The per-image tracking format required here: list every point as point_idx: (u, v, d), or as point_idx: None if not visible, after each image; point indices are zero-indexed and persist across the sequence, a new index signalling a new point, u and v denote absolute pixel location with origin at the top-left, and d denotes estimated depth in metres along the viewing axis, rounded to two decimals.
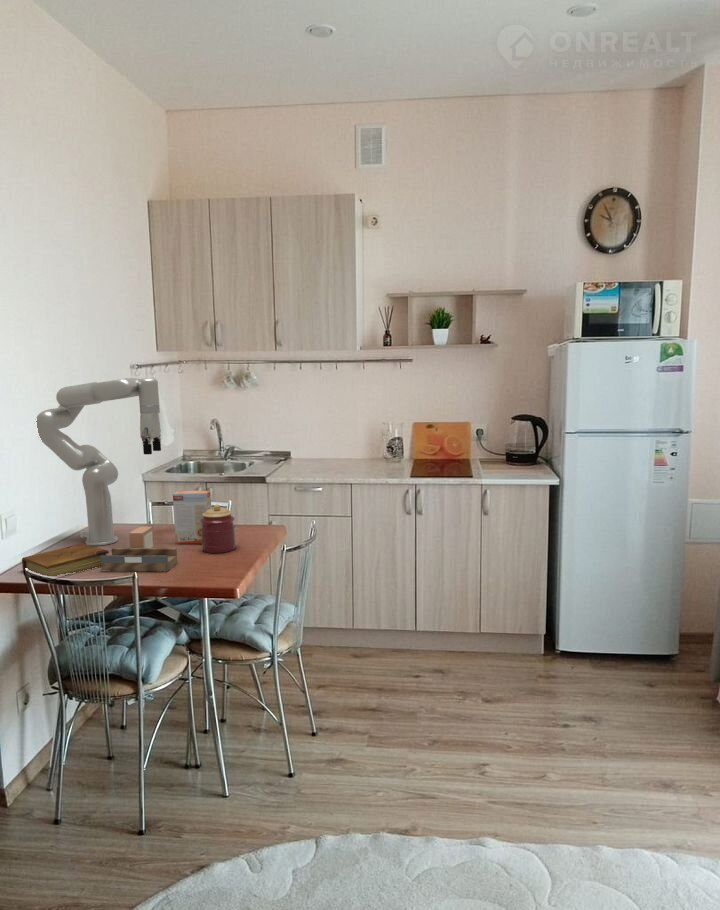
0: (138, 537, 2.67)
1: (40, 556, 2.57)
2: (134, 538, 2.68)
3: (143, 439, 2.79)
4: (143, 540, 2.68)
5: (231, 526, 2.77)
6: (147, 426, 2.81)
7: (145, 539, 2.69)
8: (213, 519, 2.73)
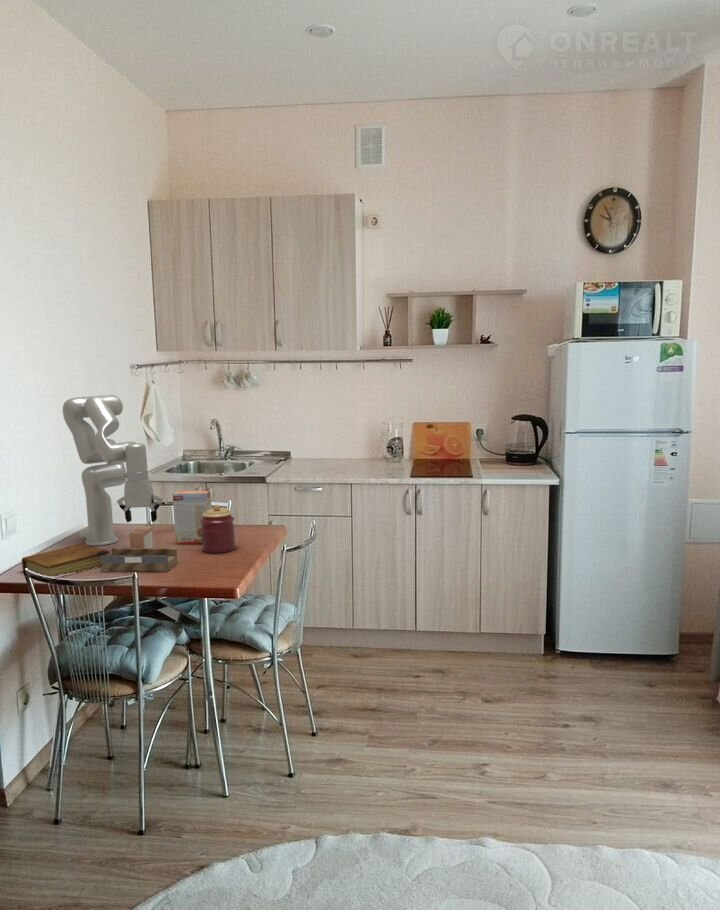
0: (138, 537, 2.67)
1: (40, 556, 2.57)
2: (134, 538, 2.68)
3: (159, 504, 2.70)
4: (143, 540, 2.68)
5: (231, 526, 2.77)
6: (152, 492, 2.70)
7: (145, 539, 2.69)
8: (213, 519, 2.73)
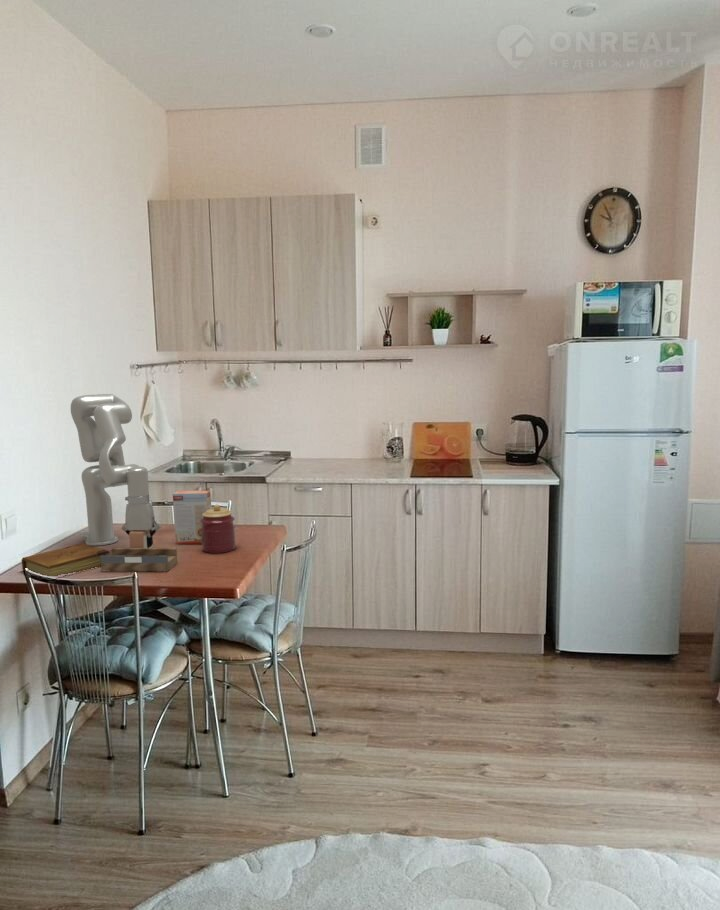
0: (138, 537, 2.67)
1: (40, 556, 2.57)
2: (134, 538, 2.68)
3: (155, 531, 2.72)
4: (143, 540, 2.68)
5: (231, 526, 2.77)
6: (153, 515, 2.72)
7: (145, 539, 2.69)
8: (213, 519, 2.73)
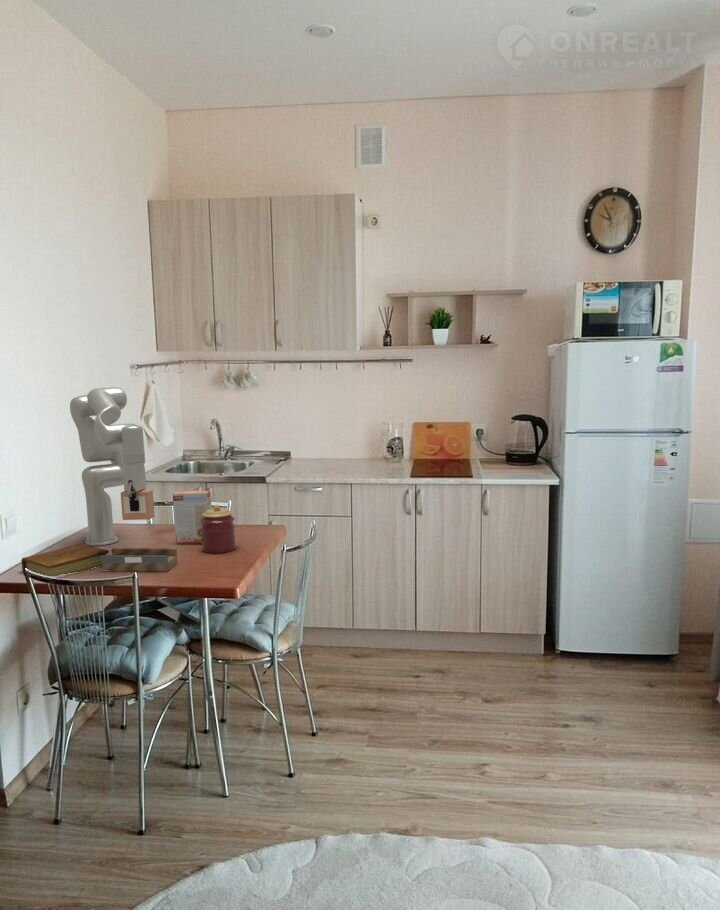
0: None
1: (40, 556, 2.57)
2: None
3: None
4: (122, 501, 2.59)
5: (231, 526, 2.77)
6: (131, 478, 2.55)
7: (126, 500, 2.58)
8: (213, 519, 2.73)
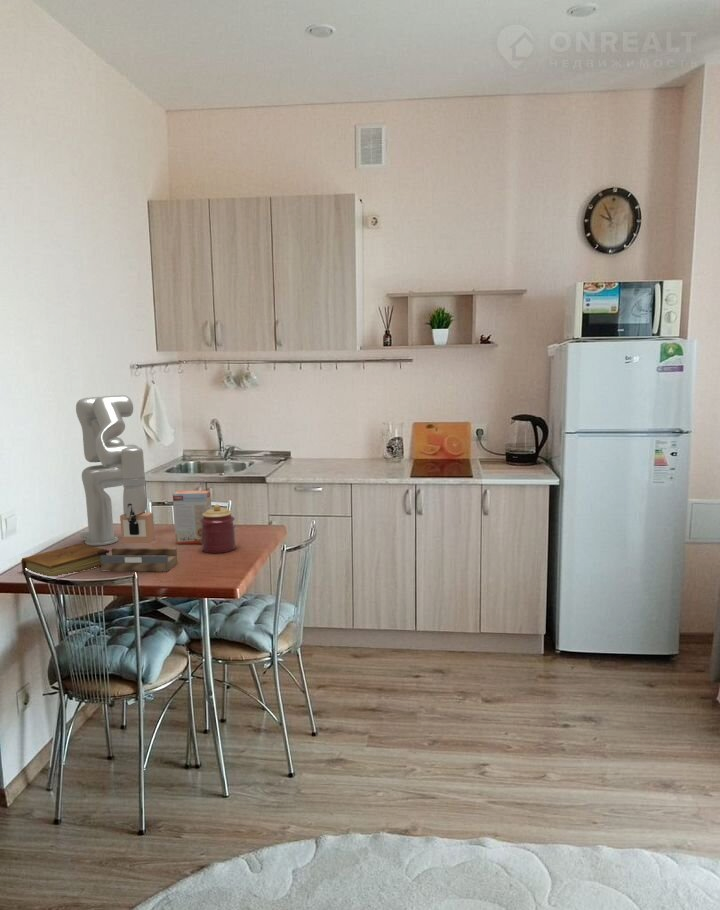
0: None
1: (40, 556, 2.56)
2: None
3: None
4: (121, 524, 2.54)
5: (231, 526, 2.77)
6: (131, 502, 2.50)
7: (126, 524, 2.54)
8: (213, 519, 2.73)
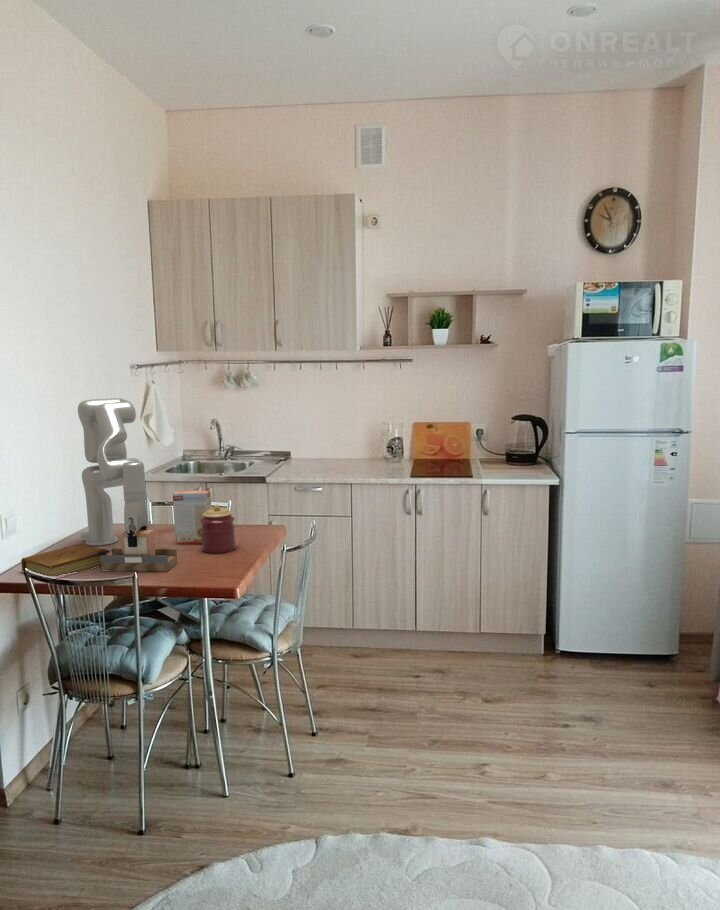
0: None
1: (40, 556, 2.56)
2: None
3: (127, 531, 2.49)
4: (122, 541, 2.55)
5: (231, 526, 2.77)
6: (132, 516, 2.51)
7: (127, 541, 2.55)
8: (213, 519, 2.73)
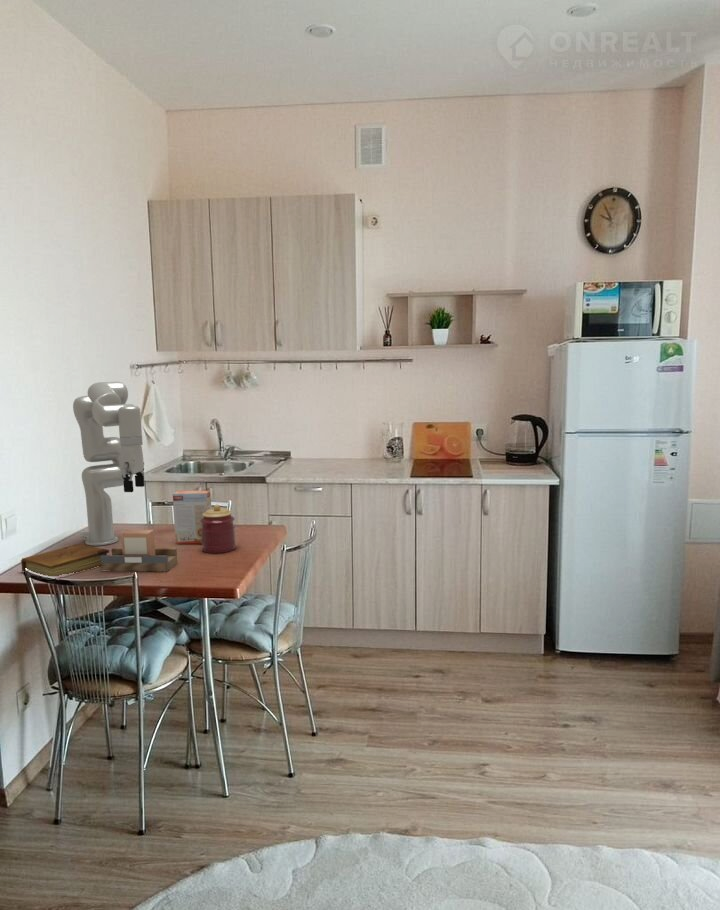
0: None
1: (40, 556, 2.56)
2: None
3: (123, 475, 2.46)
4: (122, 541, 2.55)
5: (231, 526, 2.77)
6: (128, 460, 2.48)
7: (127, 541, 2.55)
8: (213, 519, 2.73)
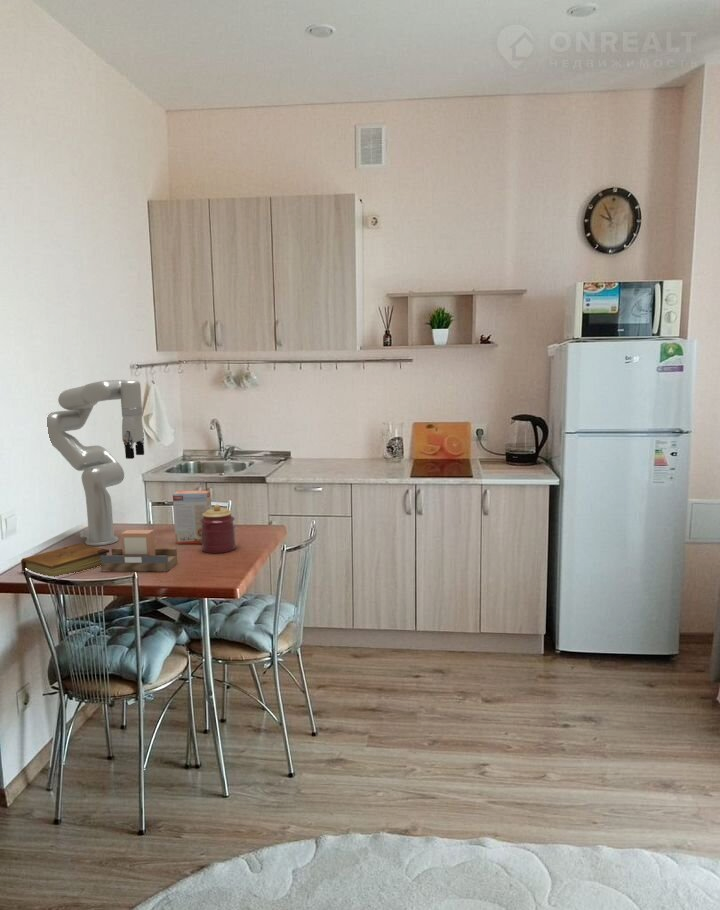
0: None
1: (40, 557, 2.56)
2: None
3: (125, 443, 2.71)
4: (122, 541, 2.55)
5: (231, 526, 2.77)
6: (129, 430, 2.73)
7: (127, 541, 2.55)
8: (213, 519, 2.73)
